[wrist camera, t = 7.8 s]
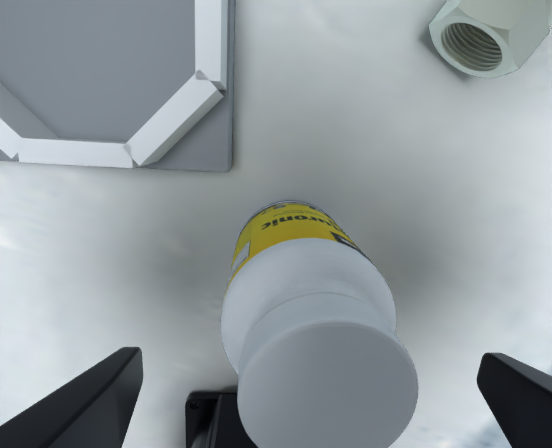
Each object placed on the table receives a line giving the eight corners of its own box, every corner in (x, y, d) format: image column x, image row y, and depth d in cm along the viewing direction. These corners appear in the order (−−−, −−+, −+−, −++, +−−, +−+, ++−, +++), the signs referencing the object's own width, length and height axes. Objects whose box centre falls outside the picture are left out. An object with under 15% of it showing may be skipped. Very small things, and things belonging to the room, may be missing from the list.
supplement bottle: (357, 219, 16) (501, 337, 7) (316, 309, 17) (387, 518, 8) (257, 181, 15) (254, 254, 6) (221, 279, 16) (171, 469, 7)
